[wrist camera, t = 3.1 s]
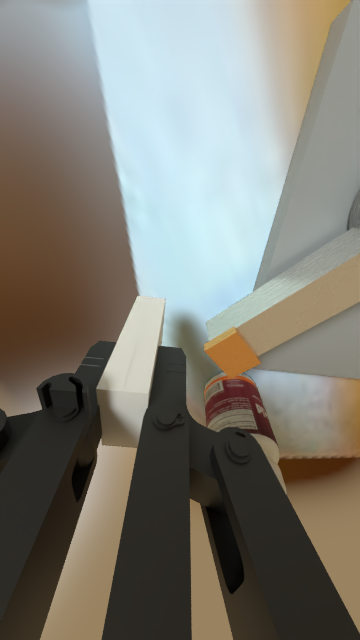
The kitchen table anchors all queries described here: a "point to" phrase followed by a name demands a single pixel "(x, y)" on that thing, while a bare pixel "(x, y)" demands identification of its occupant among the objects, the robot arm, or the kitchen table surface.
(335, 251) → the silver ladle
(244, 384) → the pill bottle
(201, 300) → the kitchen table surface
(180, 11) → the kitchen table surface
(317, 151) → the stand board
